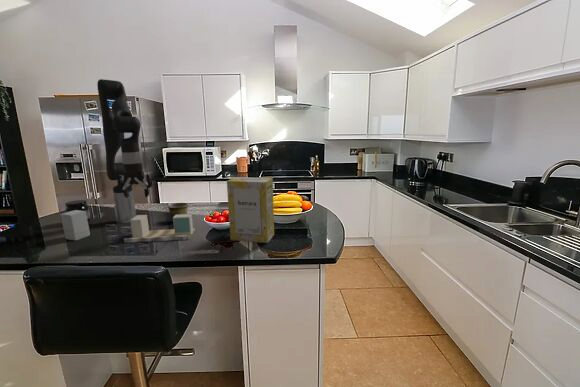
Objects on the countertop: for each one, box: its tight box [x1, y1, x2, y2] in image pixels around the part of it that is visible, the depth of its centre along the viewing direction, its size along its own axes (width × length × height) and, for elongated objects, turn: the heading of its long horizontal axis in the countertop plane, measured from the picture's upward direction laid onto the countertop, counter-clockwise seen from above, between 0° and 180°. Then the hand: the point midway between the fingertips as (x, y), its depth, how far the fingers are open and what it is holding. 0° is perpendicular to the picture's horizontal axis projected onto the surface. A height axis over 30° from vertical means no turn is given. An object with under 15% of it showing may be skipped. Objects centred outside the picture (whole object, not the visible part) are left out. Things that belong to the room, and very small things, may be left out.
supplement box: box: [59, 210, 91, 241], centre depth 135 cm, size 7×7×13 cm
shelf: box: [123, 227, 197, 244], centre depth 133 cm, size 28×15×3 cm, turn 96°
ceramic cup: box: [168, 202, 189, 221], centre depth 156 cm, size 13×10×10 cm
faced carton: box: [172, 213, 194, 236], centre depth 134 cm, size 8×5×9 cm, turn 96°
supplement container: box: [65, 199, 92, 223], centre depth 157 cm, size 10×10×12 cm
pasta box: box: [226, 176, 275, 244], centre depth 130 cm, size 18×10×28 cm, turn 77°
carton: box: [129, 214, 150, 238], centre depth 132 cm, size 8×5×9 cm, turn 6°
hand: (137, 197), depth 129 cm, fingers open, 8 cm apart
